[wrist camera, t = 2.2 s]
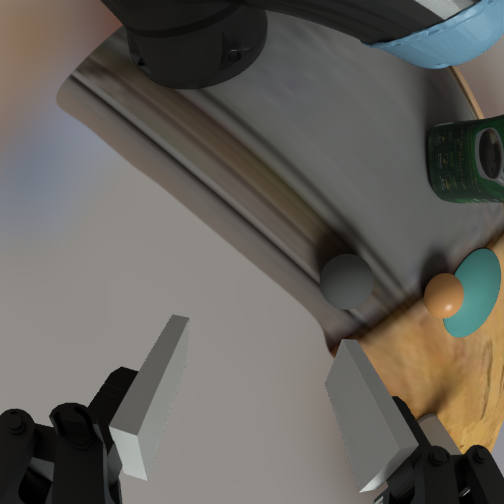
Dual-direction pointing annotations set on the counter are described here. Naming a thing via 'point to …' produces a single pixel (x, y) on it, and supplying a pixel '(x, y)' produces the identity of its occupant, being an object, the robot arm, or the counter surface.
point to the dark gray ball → (346, 281)
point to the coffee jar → (468, 160)
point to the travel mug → (438, 435)
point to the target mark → (475, 292)
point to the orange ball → (444, 295)
